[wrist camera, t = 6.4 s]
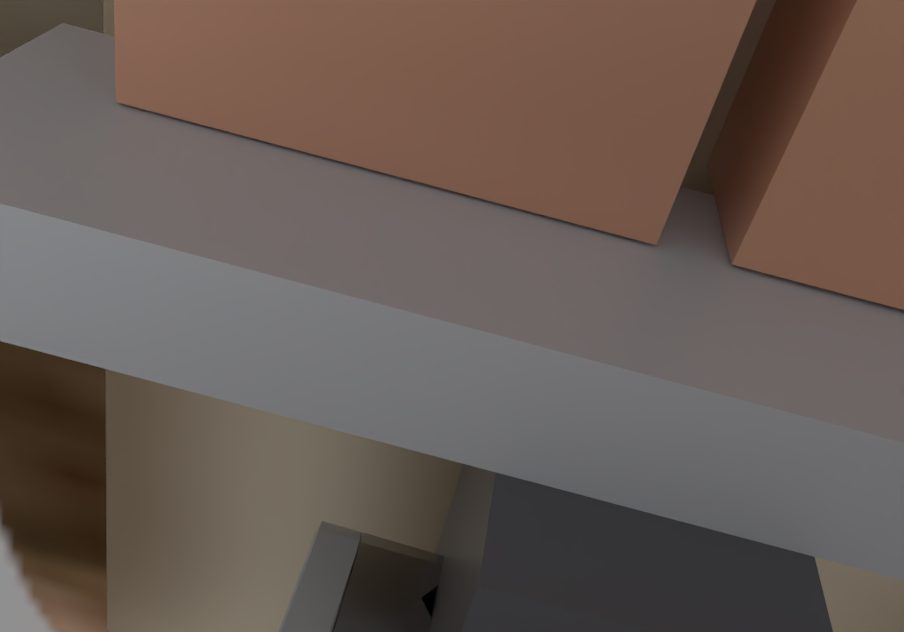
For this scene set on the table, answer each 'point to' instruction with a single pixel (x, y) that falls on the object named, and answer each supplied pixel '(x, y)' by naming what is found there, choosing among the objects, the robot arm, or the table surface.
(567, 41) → the tile
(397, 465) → the bench plate
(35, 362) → the table surface
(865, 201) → the tile
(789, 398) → the grey block
